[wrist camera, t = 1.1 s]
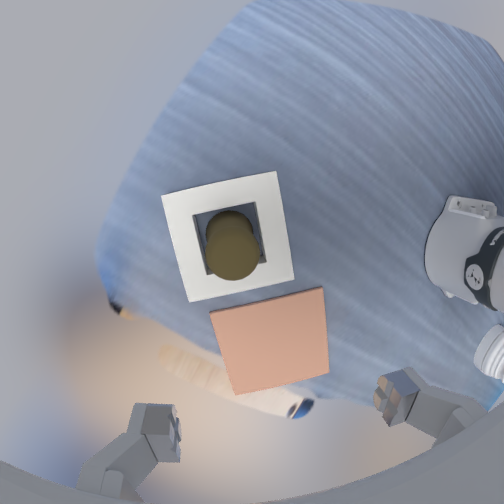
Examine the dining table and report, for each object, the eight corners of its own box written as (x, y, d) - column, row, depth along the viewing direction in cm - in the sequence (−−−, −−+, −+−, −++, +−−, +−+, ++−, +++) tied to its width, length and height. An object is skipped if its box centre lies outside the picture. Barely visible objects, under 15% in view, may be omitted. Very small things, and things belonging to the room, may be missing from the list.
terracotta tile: (321, 286, 39) (322, 288, 38) (328, 370, 43) (329, 372, 43) (209, 311, 38) (209, 313, 37) (235, 392, 42) (235, 395, 42)
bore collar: (271, 171, 34) (276, 171, 31) (289, 271, 38) (294, 279, 35) (166, 194, 33) (161, 195, 30) (191, 292, 37) (189, 302, 34)
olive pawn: (203, 211, 34) (196, 227, 24) (252, 208, 35) (266, 222, 25) (207, 258, 36) (202, 292, 26) (254, 255, 37) (267, 287, 26)
